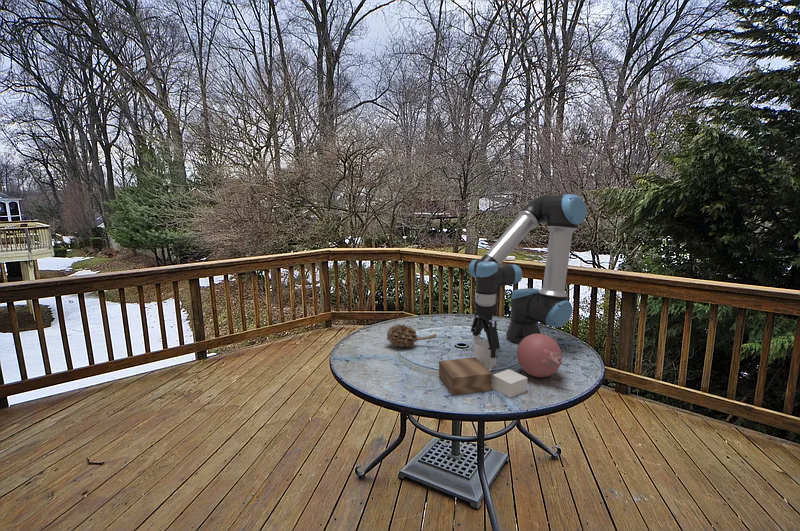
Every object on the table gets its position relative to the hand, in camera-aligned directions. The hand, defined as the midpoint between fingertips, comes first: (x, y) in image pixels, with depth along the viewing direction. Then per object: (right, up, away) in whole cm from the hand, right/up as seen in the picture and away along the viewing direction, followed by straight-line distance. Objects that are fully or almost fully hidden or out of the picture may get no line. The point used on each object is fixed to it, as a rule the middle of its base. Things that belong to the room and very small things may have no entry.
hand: (483, 358), depth 153 cm
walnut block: (-9, -6, -11) cm, 16 cm away
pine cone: (-26, 0, +23) cm, 35 cm away
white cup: (0, -4, +1) cm, 4 cm away
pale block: (+5, -7, -16) cm, 18 cm away
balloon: (+19, -5, -8) cm, 21 cm away
